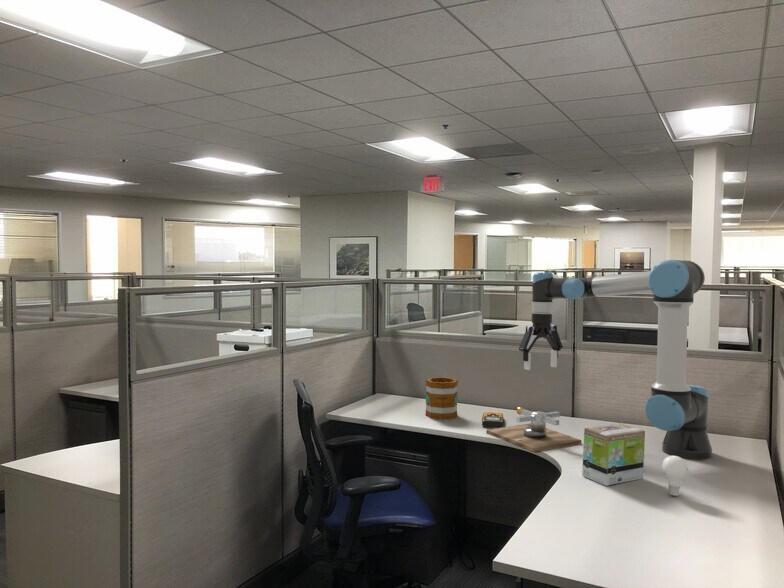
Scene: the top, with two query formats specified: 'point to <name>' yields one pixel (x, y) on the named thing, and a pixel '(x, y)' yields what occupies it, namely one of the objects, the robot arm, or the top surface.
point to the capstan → (537, 421)
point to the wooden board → (533, 444)
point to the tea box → (613, 454)
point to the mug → (441, 398)
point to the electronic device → (492, 420)
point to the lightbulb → (674, 473)
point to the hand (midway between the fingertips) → (540, 368)
